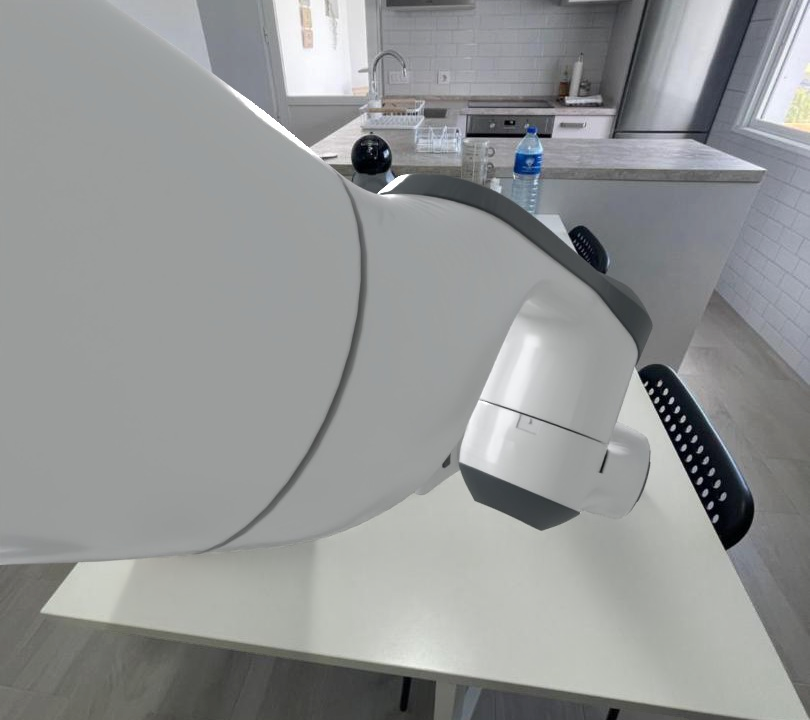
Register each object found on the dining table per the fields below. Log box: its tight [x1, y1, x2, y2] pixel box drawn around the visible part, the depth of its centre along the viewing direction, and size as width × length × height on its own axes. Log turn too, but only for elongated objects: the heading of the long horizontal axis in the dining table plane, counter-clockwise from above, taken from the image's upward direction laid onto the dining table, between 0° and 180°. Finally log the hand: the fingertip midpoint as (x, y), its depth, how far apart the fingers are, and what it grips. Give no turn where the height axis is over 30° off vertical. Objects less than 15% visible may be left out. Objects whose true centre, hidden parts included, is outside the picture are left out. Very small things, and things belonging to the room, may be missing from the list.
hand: (349, 373), depth 50 cm, fingers open, 8 cm apart
